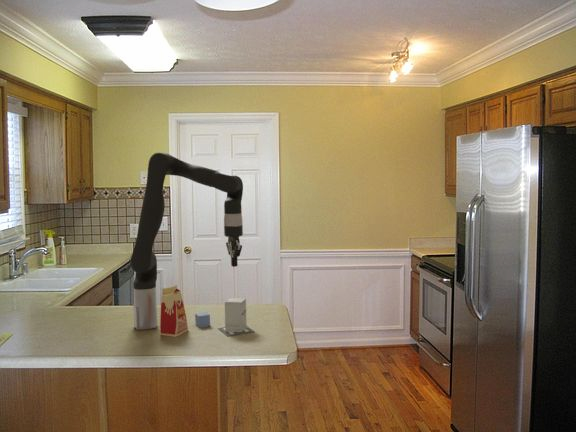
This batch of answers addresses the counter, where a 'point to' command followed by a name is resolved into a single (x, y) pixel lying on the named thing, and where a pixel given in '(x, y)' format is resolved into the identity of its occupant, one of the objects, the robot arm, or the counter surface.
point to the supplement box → (235, 315)
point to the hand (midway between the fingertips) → (234, 266)
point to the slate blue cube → (202, 319)
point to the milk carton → (172, 313)
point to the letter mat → (246, 330)
